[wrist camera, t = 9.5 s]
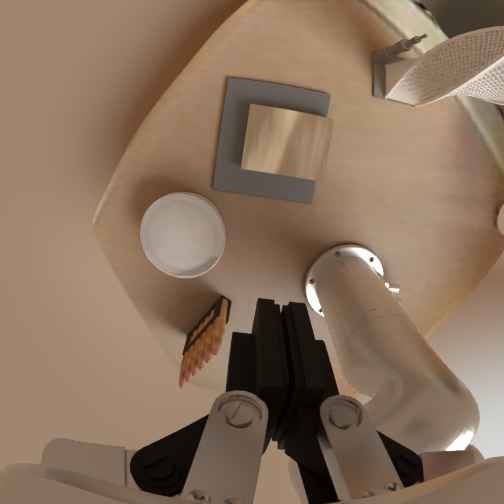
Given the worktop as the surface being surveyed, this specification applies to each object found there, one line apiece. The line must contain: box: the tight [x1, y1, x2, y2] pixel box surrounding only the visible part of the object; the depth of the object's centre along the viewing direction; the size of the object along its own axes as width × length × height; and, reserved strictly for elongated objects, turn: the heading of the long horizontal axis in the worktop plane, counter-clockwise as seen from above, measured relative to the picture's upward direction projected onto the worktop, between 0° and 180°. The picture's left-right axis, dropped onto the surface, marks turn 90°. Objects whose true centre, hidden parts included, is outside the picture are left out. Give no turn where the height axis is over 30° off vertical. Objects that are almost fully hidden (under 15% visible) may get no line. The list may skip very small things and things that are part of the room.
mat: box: [213, 78, 330, 204], centre depth 34 cm, size 13×15×1 cm
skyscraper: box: [373, 26, 504, 107], centre depth 17 cm, size 8×8×28 cm
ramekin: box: [140, 192, 226, 278], centre depth 37 cm, size 11×11×5 cm
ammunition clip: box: [179, 296, 231, 388], centre depth 40 cm, size 11×2×12 cm, turn 143°
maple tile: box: [241, 104, 334, 182], centre depth 33 cm, size 2×8×10 cm
